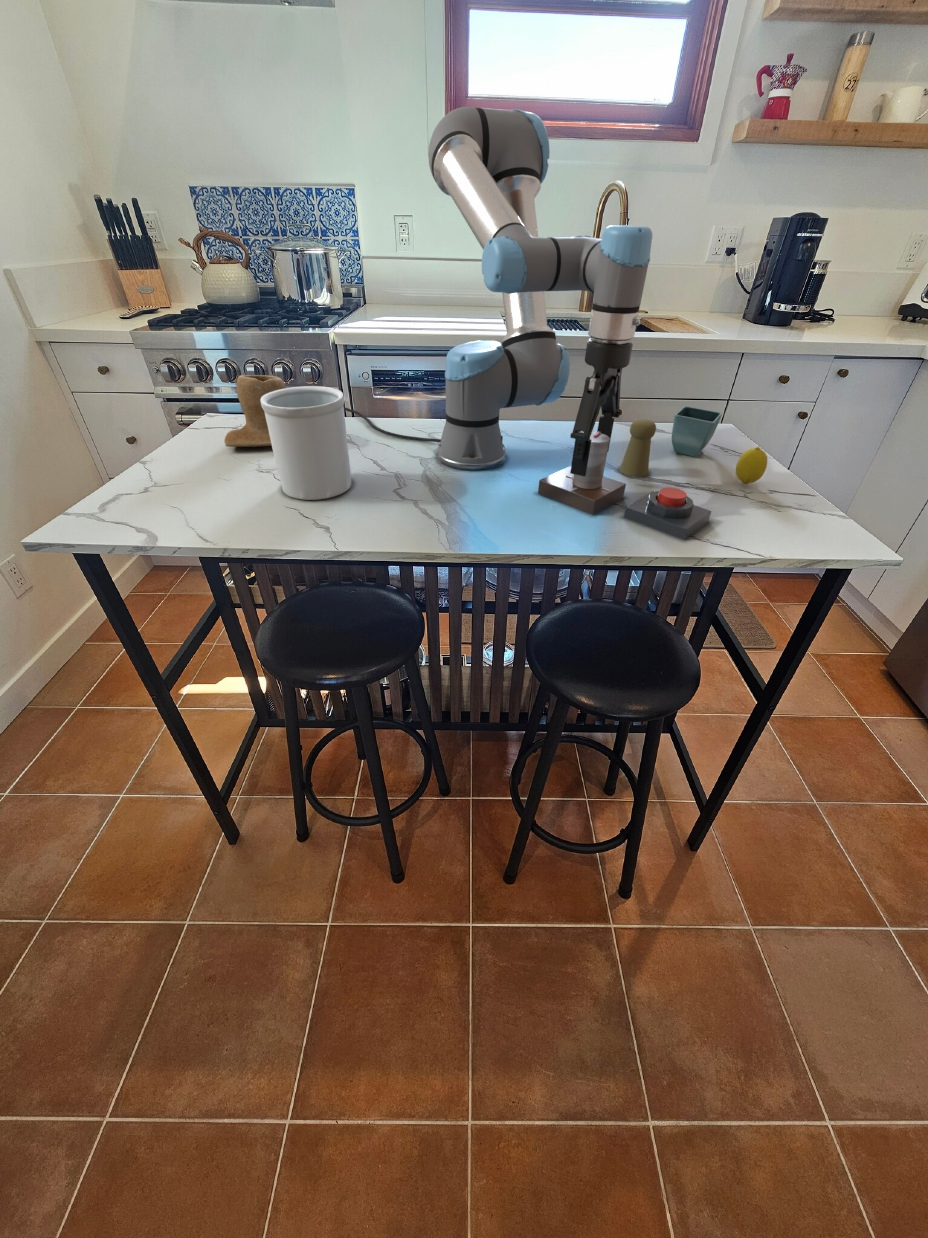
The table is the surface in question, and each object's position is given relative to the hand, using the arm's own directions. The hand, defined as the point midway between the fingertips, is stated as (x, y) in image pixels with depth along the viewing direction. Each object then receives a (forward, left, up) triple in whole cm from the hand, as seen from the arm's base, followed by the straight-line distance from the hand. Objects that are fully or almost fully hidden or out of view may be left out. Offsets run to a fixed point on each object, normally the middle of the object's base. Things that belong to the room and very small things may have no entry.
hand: (590, 462), depth 104 cm
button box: (+16, +3, -7) cm, 18 cm away
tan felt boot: (-70, -30, -7) cm, 76 cm away
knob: (0, 0, -4) cm, 4 cm away
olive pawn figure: (0, +19, -7) cm, 20 cm away
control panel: (-1, 0, -7) cm, 7 cm away
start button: (+16, +3, -4) cm, 17 cm away
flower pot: (+3, +39, -7) cm, 40 cm away
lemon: (+20, +30, -7) cm, 37 cm away
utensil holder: (-41, -35, -7) cm, 54 cm away
